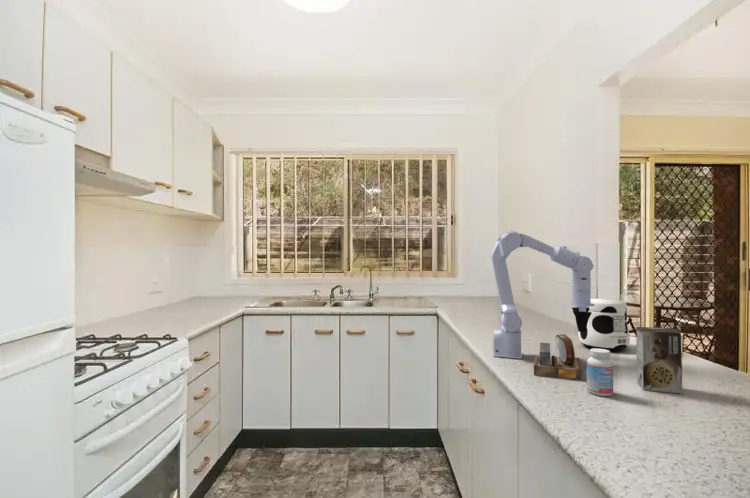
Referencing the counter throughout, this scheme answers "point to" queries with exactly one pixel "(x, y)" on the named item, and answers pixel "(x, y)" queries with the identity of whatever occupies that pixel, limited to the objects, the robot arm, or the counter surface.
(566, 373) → the rack
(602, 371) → the pill bottle
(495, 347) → the robot arm
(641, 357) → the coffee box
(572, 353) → the tin
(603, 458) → the counter surface
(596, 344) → the milk container
